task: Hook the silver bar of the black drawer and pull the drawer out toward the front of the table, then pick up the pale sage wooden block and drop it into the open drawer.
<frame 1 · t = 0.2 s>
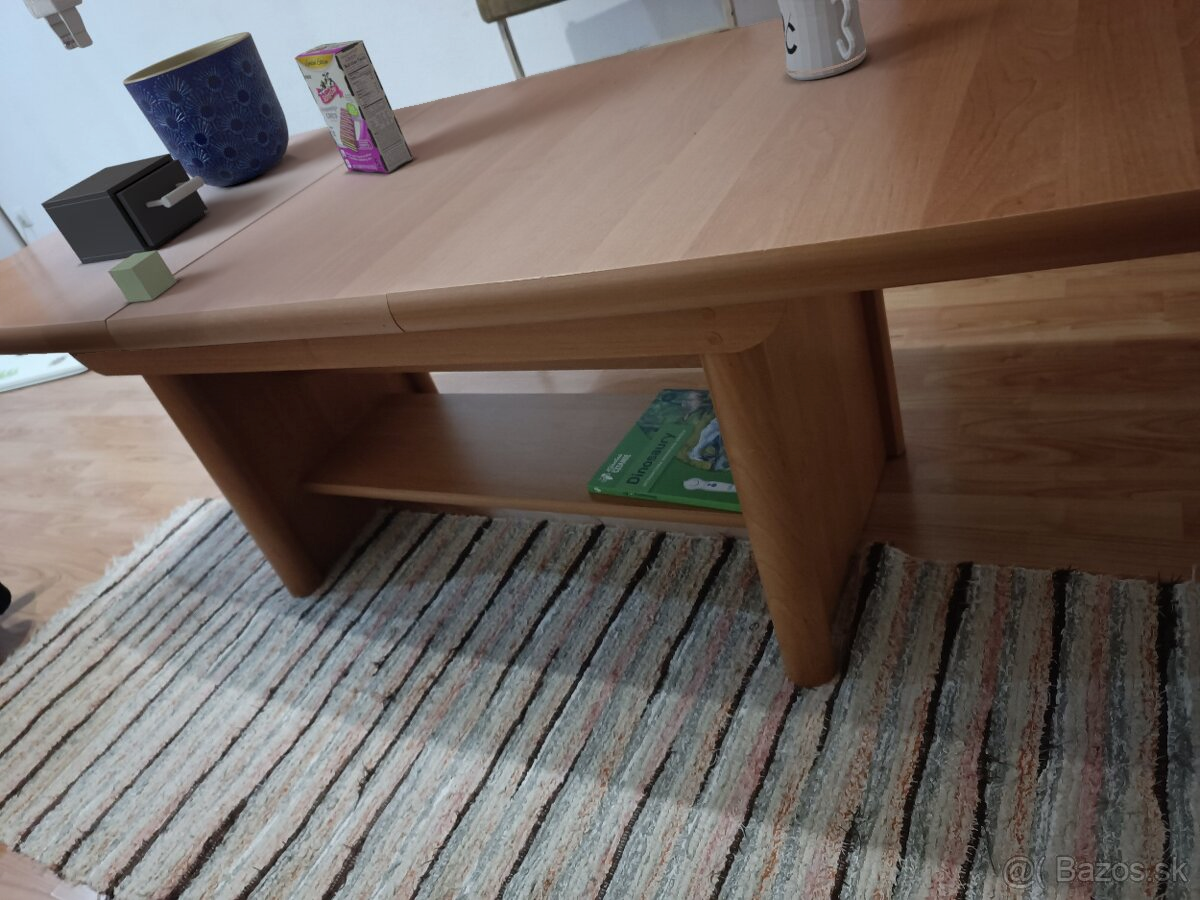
hand: (80, 47, 119), 25 cm above the table, tool pointing down, fingers open, 8 cm apart
cabinet: (144, 238, 130), on the table
mug: (833, 71, 99), on the table
planter: (250, 174, 145), on the table
drawer: (146, 205, 126), point 5 cm above the table, slide at 0.5 cm
candy bar box: (380, 167, 124), on the table
block: (153, 292, 107), on the table
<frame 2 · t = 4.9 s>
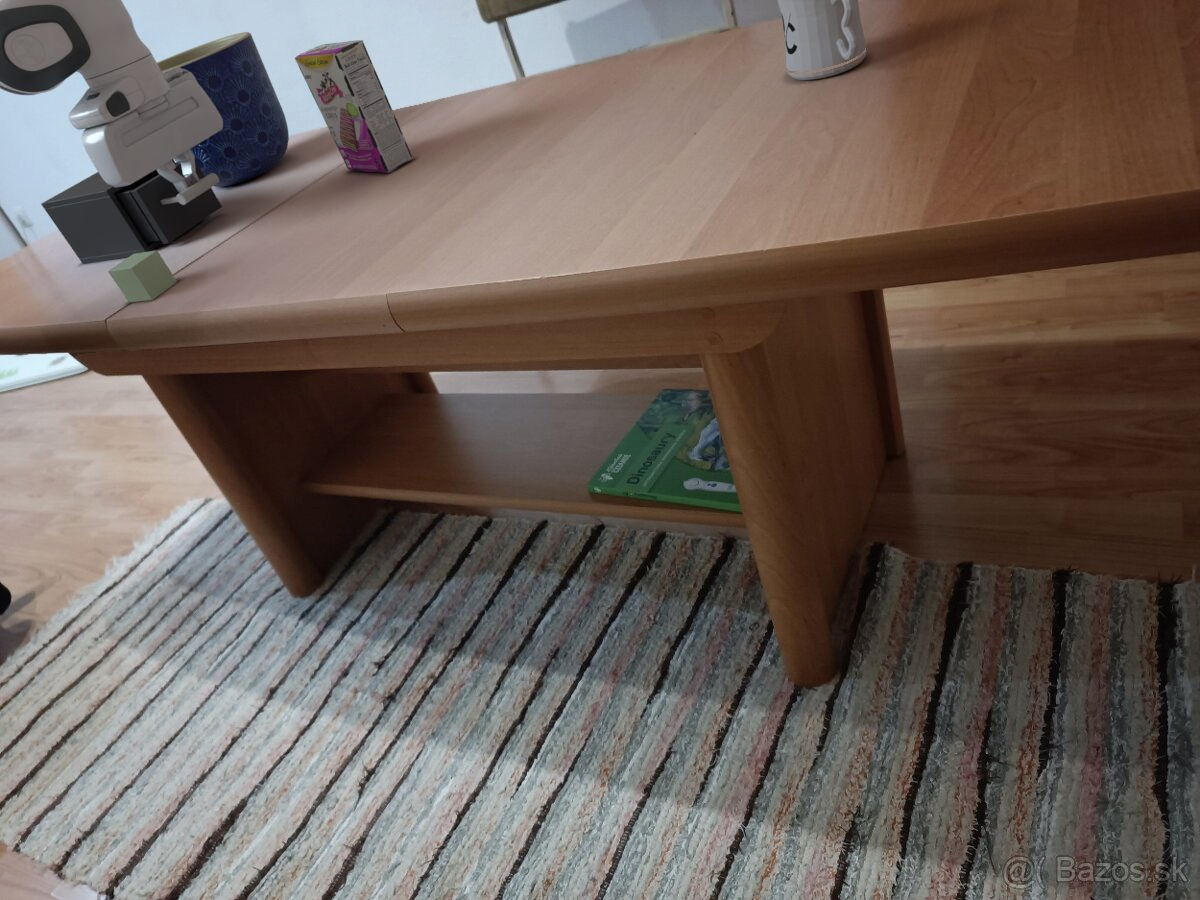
hand: (191, 189, 121), 6 cm above the table, tool pointing down, fingers closed
drawer: (161, 202, 124), point 5 cm above the table, slide at 3.6 cm, touching gripper
everything else where it was.
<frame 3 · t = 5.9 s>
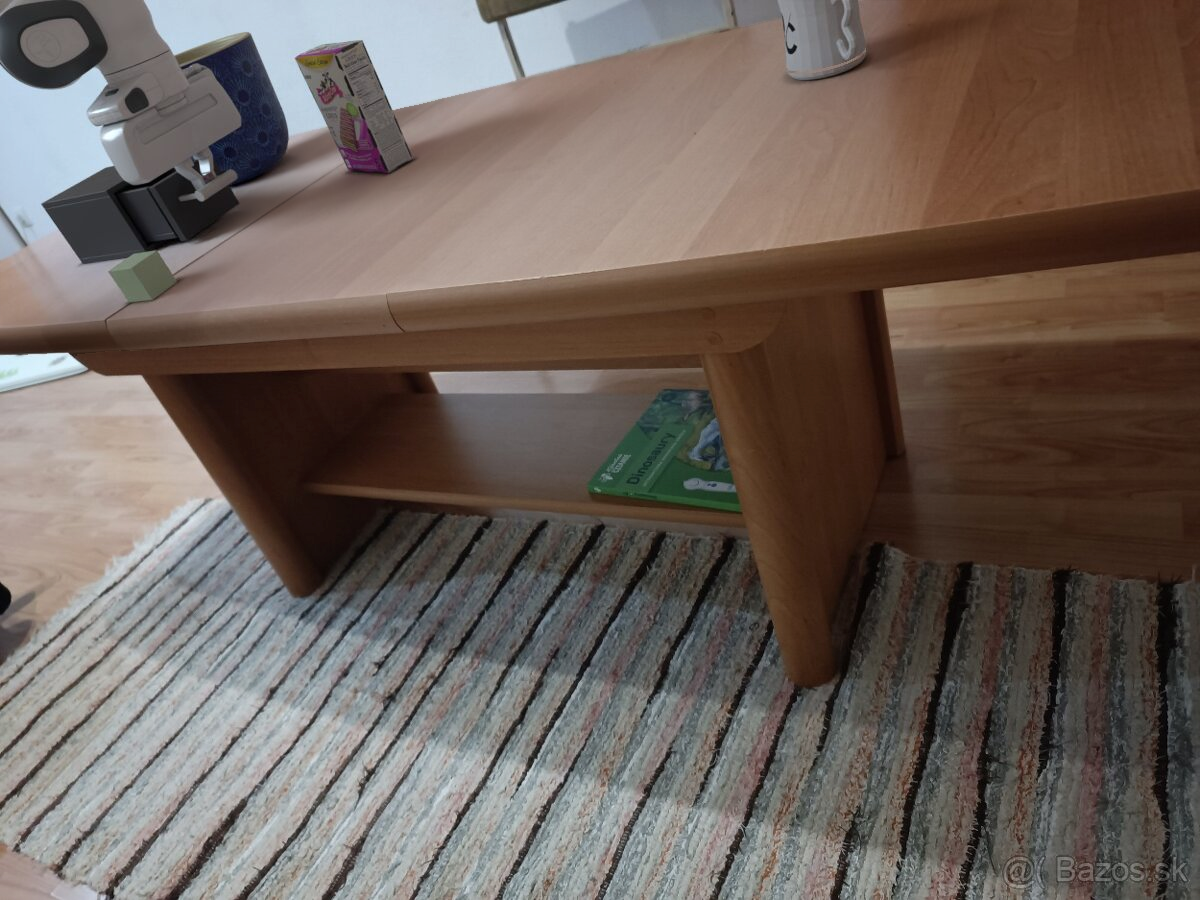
hand: (208, 187, 119), 6 cm above the table, tool pointing down, fingers closed, pressing on drawer
drawer: (178, 199, 123), point 5 cm above the table, slide at 7.2 cm, touching gripper
everything else where it was.
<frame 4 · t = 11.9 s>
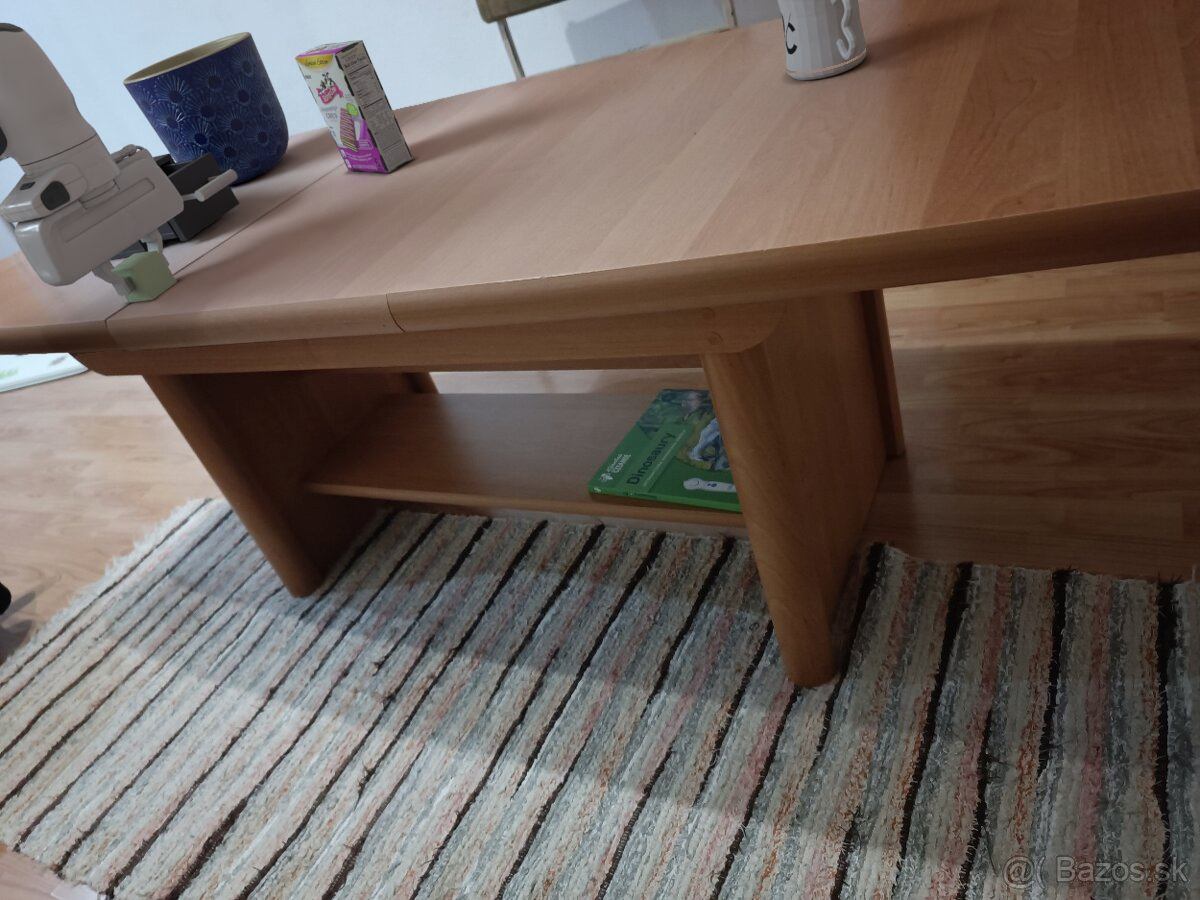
hand: (145, 280, 107), 2 cm above the table, tool pointing down, fingers closed on block, 4 cm apart
drawer: (178, 199, 123), point 5 cm above the table, slide at 7.2 cm
block: (153, 292, 107), on the table, touching gripper
everything else where it was.
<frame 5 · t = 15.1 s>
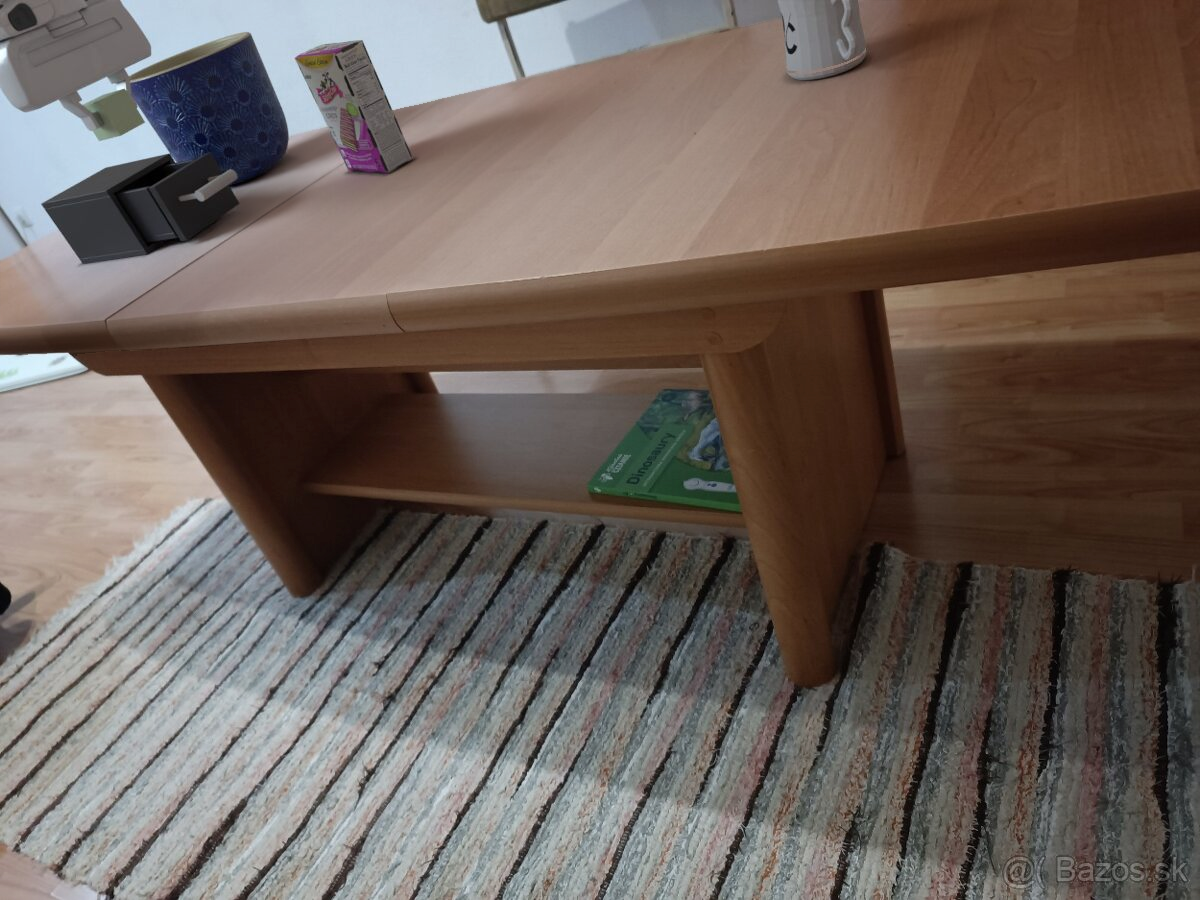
hand: (114, 119, 111), 17 cm above the table, tool pointing down, fingers closed on block, 4 cm apart
block: (122, 131, 112), point 16 cm above the table, touching gripper
everything else where it was.
when the fingers open (9 cm above the table, at t = 18.1 s): block drops 5 cm, resting on drawer.
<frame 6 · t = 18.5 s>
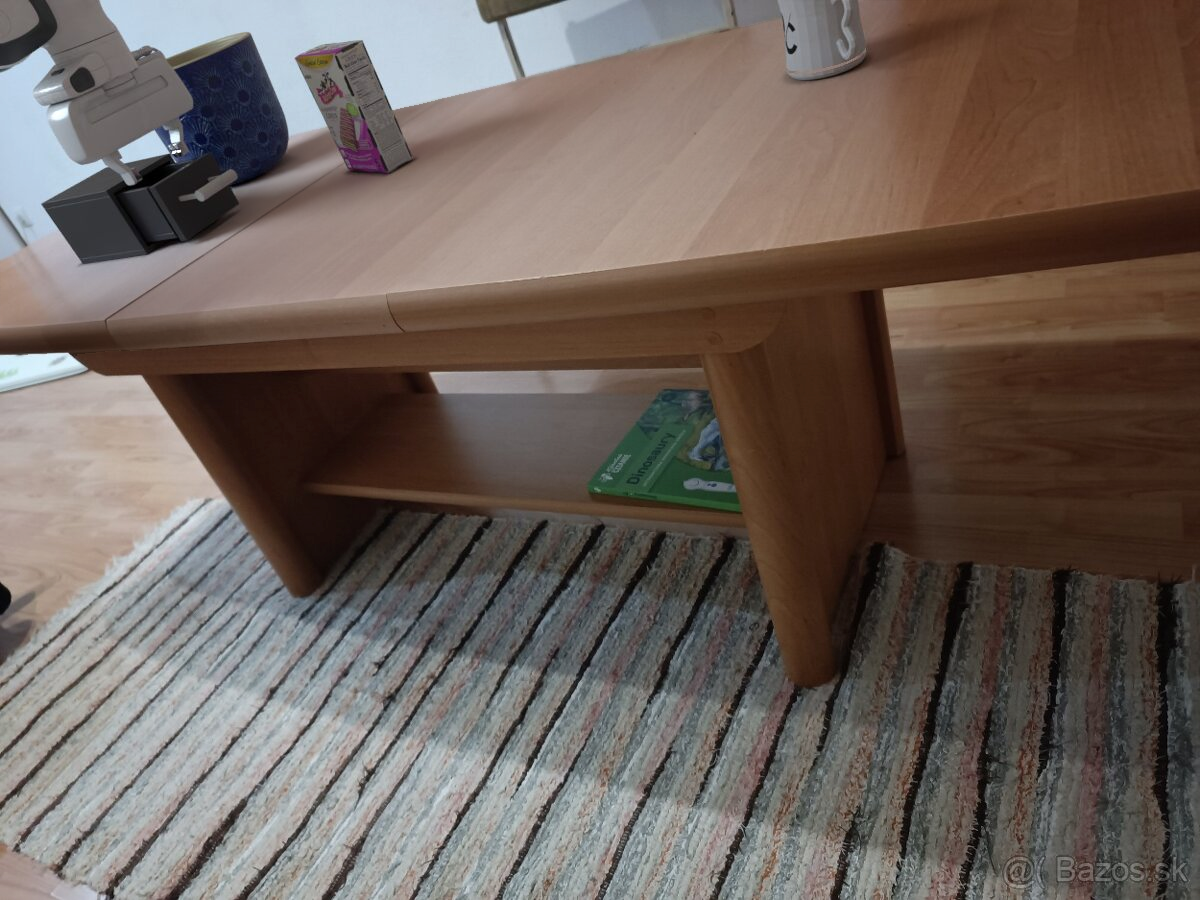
hand: (159, 168, 120), 9 cm above the table, tool pointing down, fingers open, 8 cm apart
drawer: (178, 199, 123), point 5 cm above the table, slide at 7.2 cm, touching block
block: (189, 217, 124), point 2 cm above the table, touching drawer
everything else where it was.
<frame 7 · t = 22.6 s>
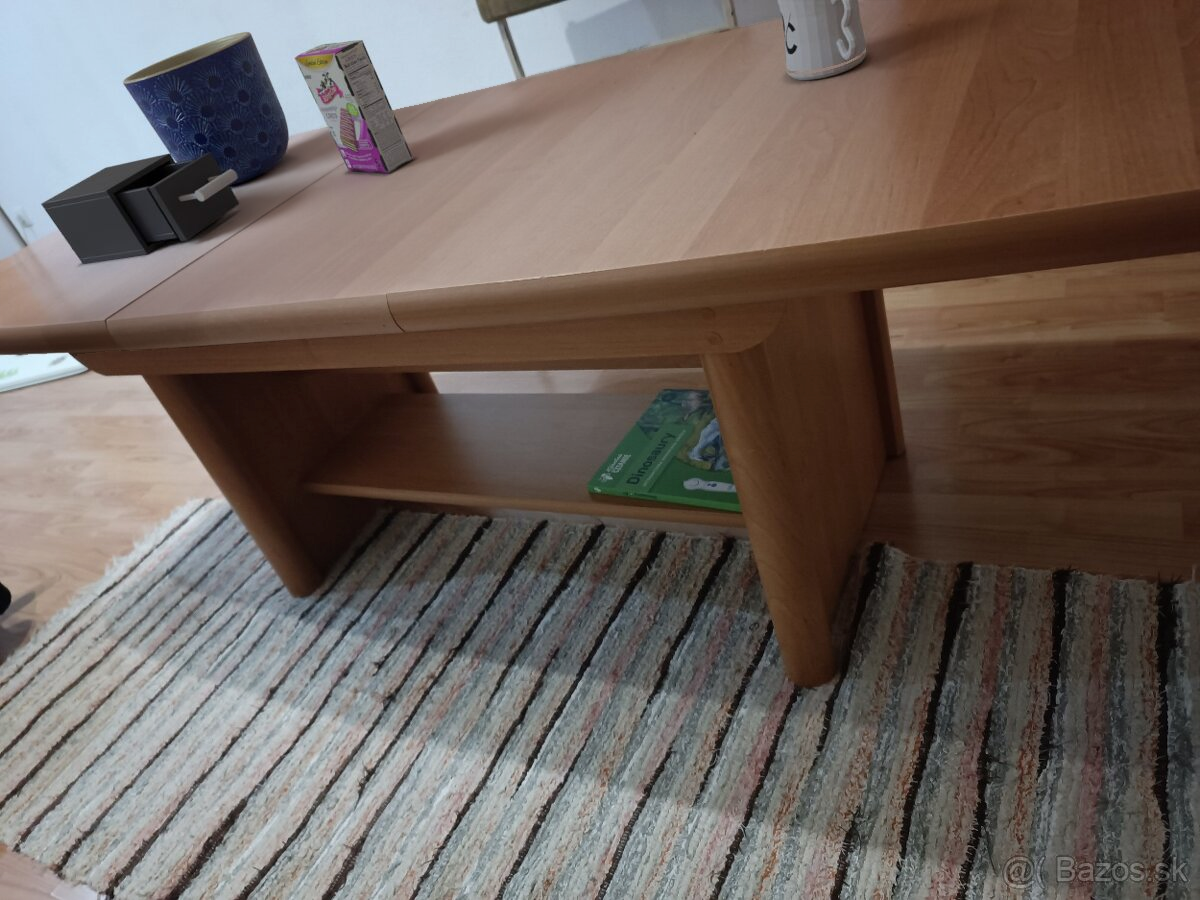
nothing on the table moved.
at the end: drawer slide at 7.2 cm; block inside the target area in the drawer (1.5 cm from its centre), point 2.0 cm above the cabinet's base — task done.
